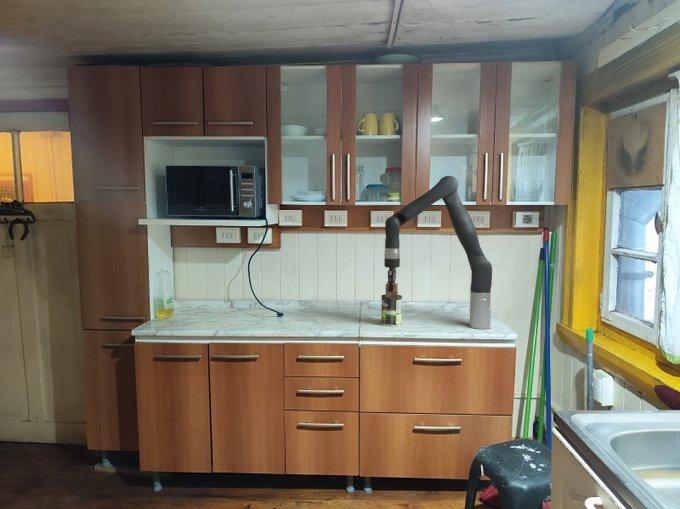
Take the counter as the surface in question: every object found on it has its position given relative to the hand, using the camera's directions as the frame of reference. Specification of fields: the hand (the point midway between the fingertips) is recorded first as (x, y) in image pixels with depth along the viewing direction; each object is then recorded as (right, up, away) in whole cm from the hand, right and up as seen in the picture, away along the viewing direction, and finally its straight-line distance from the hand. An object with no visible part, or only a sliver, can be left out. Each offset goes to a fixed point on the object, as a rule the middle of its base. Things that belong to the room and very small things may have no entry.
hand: (391, 290), depth 208 cm
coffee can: (0, -17, +1) cm, 17 cm away
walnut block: (0, -3, 0) cm, 3 cm away
